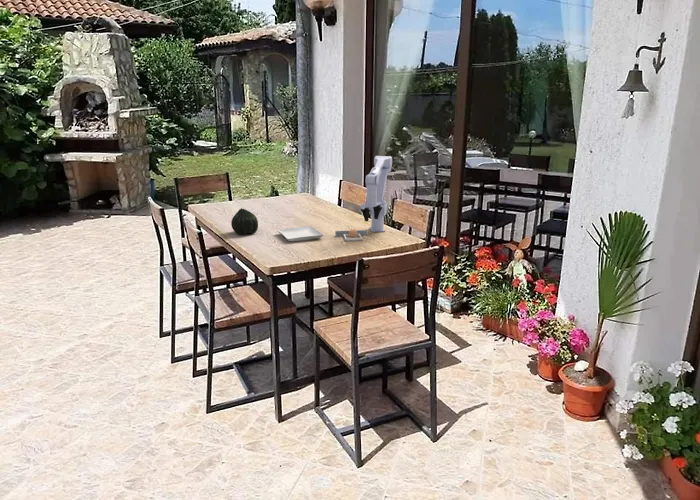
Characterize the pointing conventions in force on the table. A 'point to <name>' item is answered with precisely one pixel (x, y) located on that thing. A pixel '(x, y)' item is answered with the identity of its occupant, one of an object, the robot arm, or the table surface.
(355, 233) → the ball
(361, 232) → the low wall
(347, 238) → the white square tray
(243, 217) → the squash
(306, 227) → the salad plate
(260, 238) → the table surface
